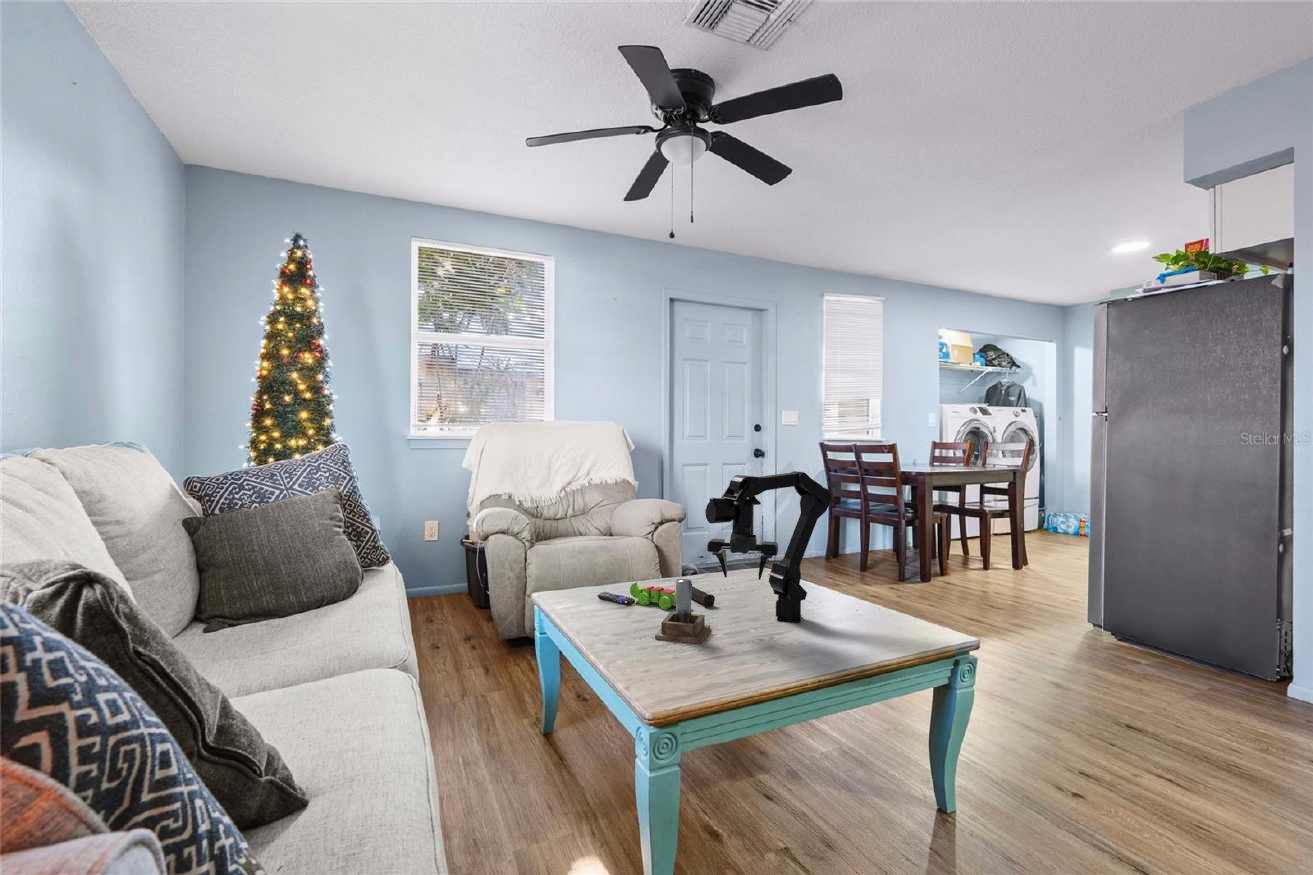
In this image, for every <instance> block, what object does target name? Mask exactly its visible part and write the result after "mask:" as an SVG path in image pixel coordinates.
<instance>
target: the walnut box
mask: <svg viewBox="0 0 1313 875" xmlns="http://www.w3.org/2000/svg"><path fill="white" fill-rule="evenodd" d="M705 620H706V618H705V614H698V613H691V624H689V623H679V622H676V611H674V612H673V611H670V612H669V613H668V614H667V616H666V617H665V618H664V619H663V620H662V621H661V623H660V624H661V627H660V629H659V630H658V631H657V632H656V633H655V635H654V639H655V640H661V641H662V640H663V641H671V642H680V643H690V644H700V645H702V643H703V641H704V640H705V638H706V637H705V636H707V634H708V633H709V632H710V630H711V624H706V623H705Z"/></svg>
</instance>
